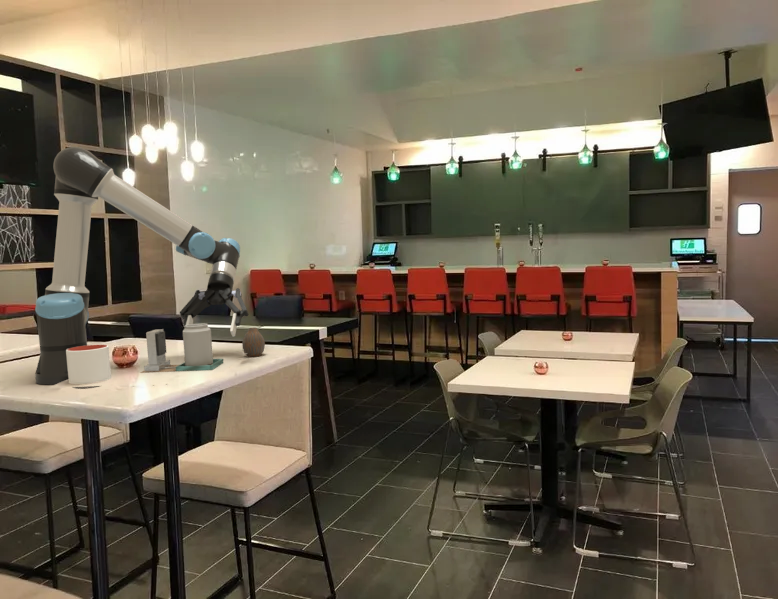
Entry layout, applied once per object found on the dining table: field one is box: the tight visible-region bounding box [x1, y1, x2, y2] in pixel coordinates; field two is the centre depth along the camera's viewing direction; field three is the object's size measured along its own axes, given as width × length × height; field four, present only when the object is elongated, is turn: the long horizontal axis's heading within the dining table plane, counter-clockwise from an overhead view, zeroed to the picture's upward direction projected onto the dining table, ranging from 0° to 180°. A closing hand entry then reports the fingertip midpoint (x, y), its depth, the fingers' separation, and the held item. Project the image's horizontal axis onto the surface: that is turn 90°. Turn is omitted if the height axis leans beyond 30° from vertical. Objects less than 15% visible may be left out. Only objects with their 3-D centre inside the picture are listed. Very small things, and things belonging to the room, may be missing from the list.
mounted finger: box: [144, 328, 171, 373], centre depth 174 cm, size 4×8×11 cm, turn 178°
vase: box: [241, 327, 266, 358], centre depth 198 cm, size 7×7×9 cm
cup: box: [66, 344, 112, 390], centre depth 163 cm, size 10×10×10 cm
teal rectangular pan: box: [139, 358, 224, 374], centre depth 175 cm, size 20×10×3 cm, turn 88°
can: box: [182, 322, 214, 366], centre depth 174 cm, size 8×8×12 cm
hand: (209, 334), depth 182 cm, fingers open, 13 cm apart
